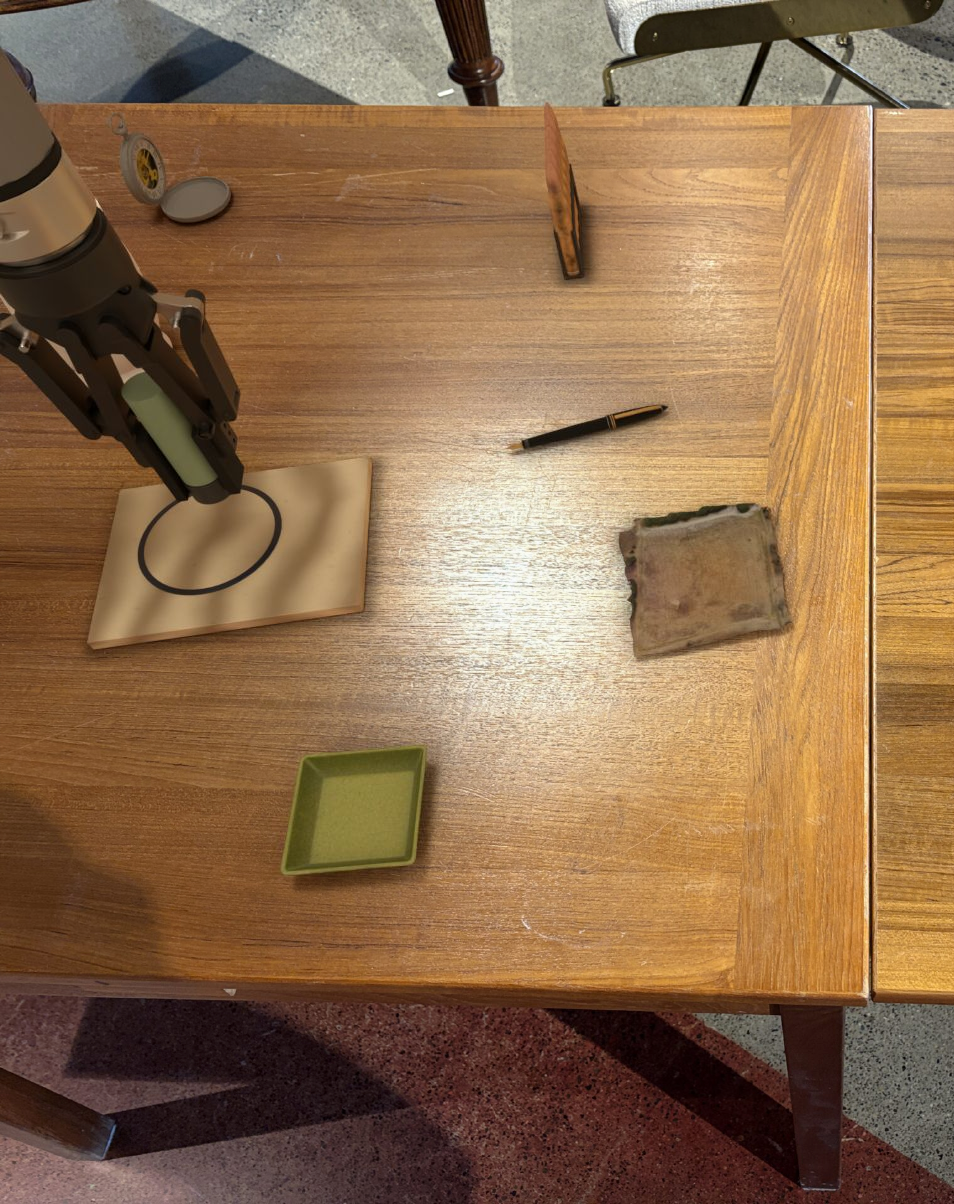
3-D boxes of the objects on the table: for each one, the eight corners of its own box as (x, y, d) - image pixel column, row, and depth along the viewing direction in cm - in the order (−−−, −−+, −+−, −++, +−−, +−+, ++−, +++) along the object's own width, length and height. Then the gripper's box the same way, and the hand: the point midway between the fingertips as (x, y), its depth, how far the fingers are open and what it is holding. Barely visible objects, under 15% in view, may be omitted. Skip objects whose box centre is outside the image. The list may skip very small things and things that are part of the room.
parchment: (769, 501, 94) (768, 494, 93) (796, 635, 86) (796, 628, 86) (616, 524, 93) (615, 516, 92) (631, 661, 85) (629, 654, 85)
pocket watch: (242, 209, 116) (197, 119, 108) (159, 241, 113) (106, 151, 105) (215, 168, 120) (170, 78, 112) (134, 199, 117) (81, 108, 109)
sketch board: (93, 649, 87) (85, 642, 86) (126, 497, 95) (119, 488, 94) (363, 611, 88) (358, 603, 88) (372, 464, 97) (368, 455, 96)
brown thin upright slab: (561, 208, 115) (536, 97, 105) (580, 206, 115) (556, 95, 105) (564, 279, 109) (537, 169, 99) (583, 277, 109) (559, 167, 99)
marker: (190, 507, 88) (115, 405, 79) (195, 475, 90) (123, 372, 81) (233, 501, 88) (163, 399, 79) (237, 470, 90) (170, 366, 81)
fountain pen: (505, 460, 97) (501, 448, 96) (503, 450, 97) (498, 438, 96) (671, 416, 99) (669, 404, 98) (667, 407, 100) (665, 394, 99)
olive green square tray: (423, 876, 77) (414, 864, 75) (290, 887, 76) (278, 875, 75) (436, 757, 81) (427, 743, 80) (311, 767, 81) (300, 754, 79)
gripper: (-124, 288, 66) (93, 537, 86) (166, 253, 68) (315, 507, 87) (-89, 207, 71) (110, 462, 90) (184, 175, 72) (323, 434, 91)
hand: (211, 483), depth 88 cm, fingers closed on marker, 3 cm apart
